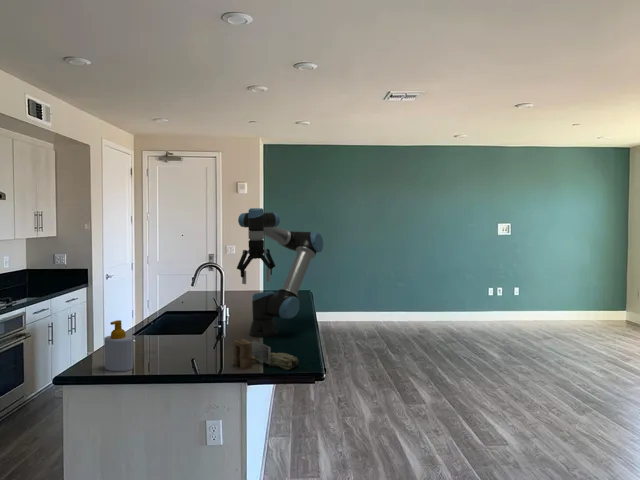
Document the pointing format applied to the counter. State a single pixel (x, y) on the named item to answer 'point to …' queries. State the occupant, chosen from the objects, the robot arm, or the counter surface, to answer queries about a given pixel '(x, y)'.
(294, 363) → the mushroom
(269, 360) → the plate
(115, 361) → the soap bottle
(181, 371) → the counter surface
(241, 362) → the base
